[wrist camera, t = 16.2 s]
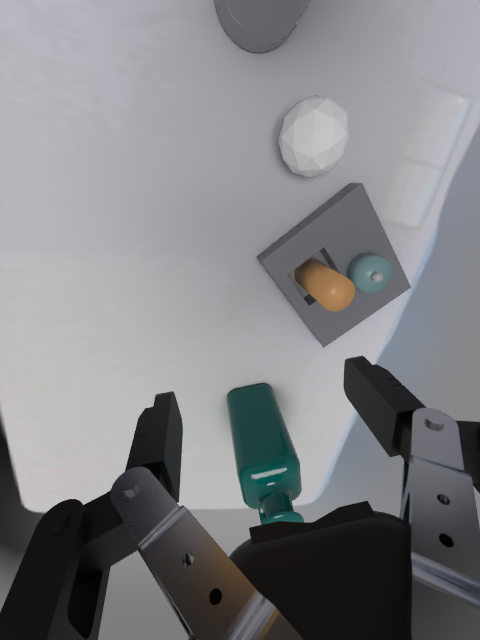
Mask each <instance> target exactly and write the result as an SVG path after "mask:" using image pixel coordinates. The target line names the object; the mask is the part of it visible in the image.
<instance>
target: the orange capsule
mask: <svg viewBox="0 0 480 640" xmlns="http://www.w3.org/2000/svg"><path fill="white" fill-rule="evenodd" d="M294 275H295V279H296V281H297V282H298V283H299V284H300V285H301V286H302V287H303V288H304V289H305V290H306V291H307V292H308V293H309V294H310V295H311V296H312V297H314V298H315V299H316V300H317V301H318V302H319V303H320V304H321V305H322V306H323V307H324V308H325V309H327V310H329V311H340V310H342V309H344V308H346V307H347V306H348V305H349V304H350V303H351V302H352V300H353V298H354V295H355V287H354V284H353V282H352V281H351V280H349V279H348V278H346V277H345V276H343V275H341V274H340V273H338V272H336V271H335V270H333V269H331V268H330V267H328V266H326V265H325V264H323V263H321V262H320V261H318V260H316V259H314V258H309V259H308V260H306V261H305V262H304V263H303V264H301V265H300V266H299V267H297V268H296V269H295V273H294Z"/></svg>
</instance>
